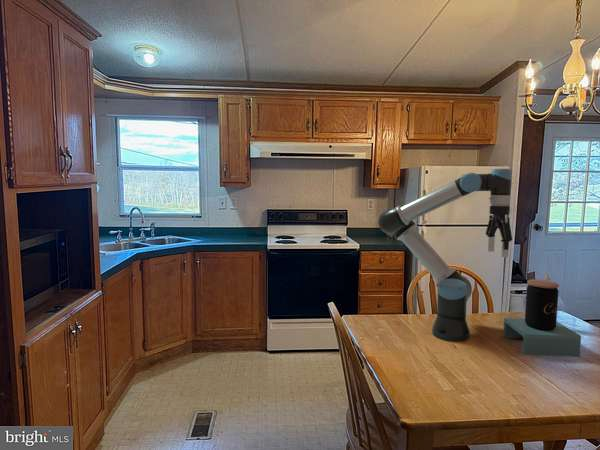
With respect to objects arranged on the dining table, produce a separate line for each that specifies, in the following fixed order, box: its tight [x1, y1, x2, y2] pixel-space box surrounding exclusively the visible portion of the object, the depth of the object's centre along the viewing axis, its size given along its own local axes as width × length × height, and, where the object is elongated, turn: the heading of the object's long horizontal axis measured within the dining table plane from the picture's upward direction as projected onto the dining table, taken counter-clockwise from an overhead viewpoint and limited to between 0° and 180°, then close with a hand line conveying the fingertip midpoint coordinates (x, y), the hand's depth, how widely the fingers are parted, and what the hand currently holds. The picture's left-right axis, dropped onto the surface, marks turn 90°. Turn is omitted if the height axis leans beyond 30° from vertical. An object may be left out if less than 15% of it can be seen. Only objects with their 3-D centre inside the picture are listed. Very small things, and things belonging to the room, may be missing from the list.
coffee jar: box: [524, 278, 560, 331], centre depth 151 cm, size 11×11×18 cm
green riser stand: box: [502, 317, 582, 357], centre depth 153 cm, size 20×18×8 cm
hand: (497, 254), depth 164 cm, fingers open, 13 cm apart
